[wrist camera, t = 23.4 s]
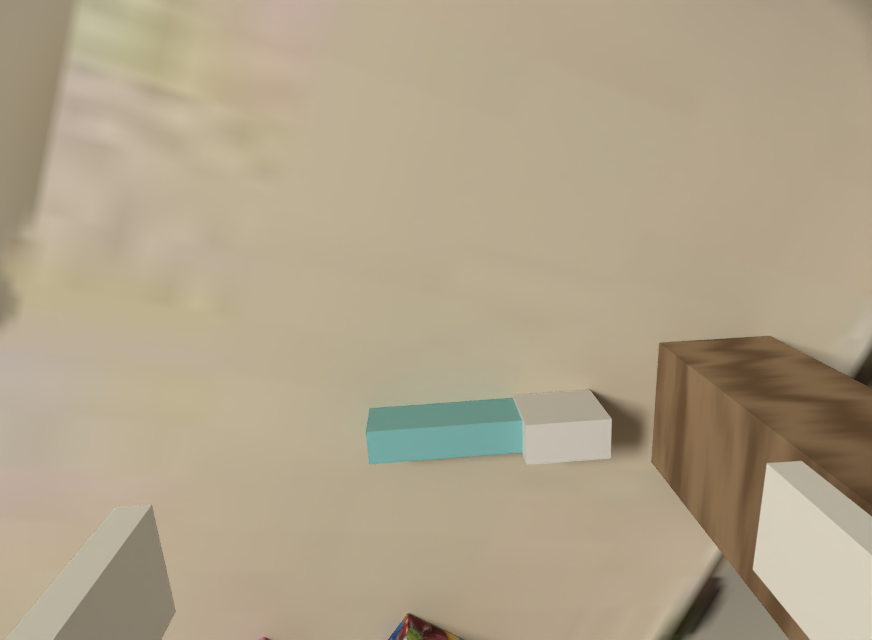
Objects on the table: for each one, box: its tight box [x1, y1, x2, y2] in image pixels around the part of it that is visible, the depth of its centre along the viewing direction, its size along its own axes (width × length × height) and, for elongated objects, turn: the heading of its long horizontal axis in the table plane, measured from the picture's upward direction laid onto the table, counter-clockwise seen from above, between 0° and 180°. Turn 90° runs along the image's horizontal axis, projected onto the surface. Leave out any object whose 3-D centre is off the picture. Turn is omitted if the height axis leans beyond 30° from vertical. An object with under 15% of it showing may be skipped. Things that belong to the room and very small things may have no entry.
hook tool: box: [366, 389, 612, 465], centre depth 49 cm, size 20×4×6 cm, turn 93°
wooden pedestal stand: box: [651, 336, 872, 640], centre depth 36 cm, size 13×14×35 cm
